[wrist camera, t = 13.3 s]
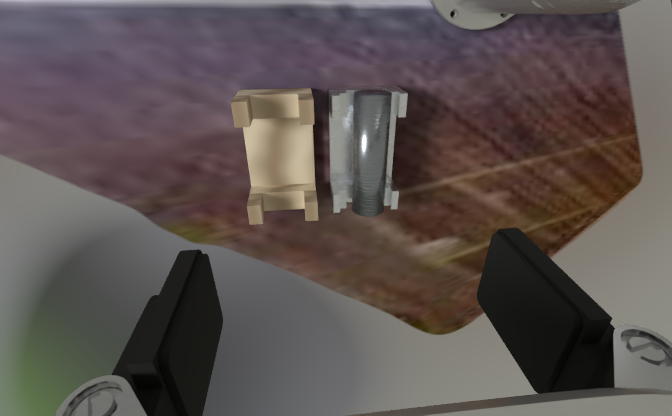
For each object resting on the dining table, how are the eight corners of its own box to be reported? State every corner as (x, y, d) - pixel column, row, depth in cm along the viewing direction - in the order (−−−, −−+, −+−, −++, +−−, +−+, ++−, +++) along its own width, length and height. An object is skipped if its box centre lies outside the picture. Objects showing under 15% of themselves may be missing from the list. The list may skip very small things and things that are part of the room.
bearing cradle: (310, 88, 39) (313, 99, 34) (315, 196, 46) (318, 220, 41) (239, 90, 39) (230, 102, 33) (254, 200, 46) (249, 224, 40)
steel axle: (383, 88, 39) (398, 95, 35) (377, 199, 46) (388, 214, 42) (349, 90, 38) (360, 98, 34) (347, 203, 45) (357, 218, 41)
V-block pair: (396, 85, 40) (407, 93, 36) (388, 192, 47) (397, 208, 43) (328, 87, 40) (332, 95, 36) (330, 196, 46) (333, 212, 43)
